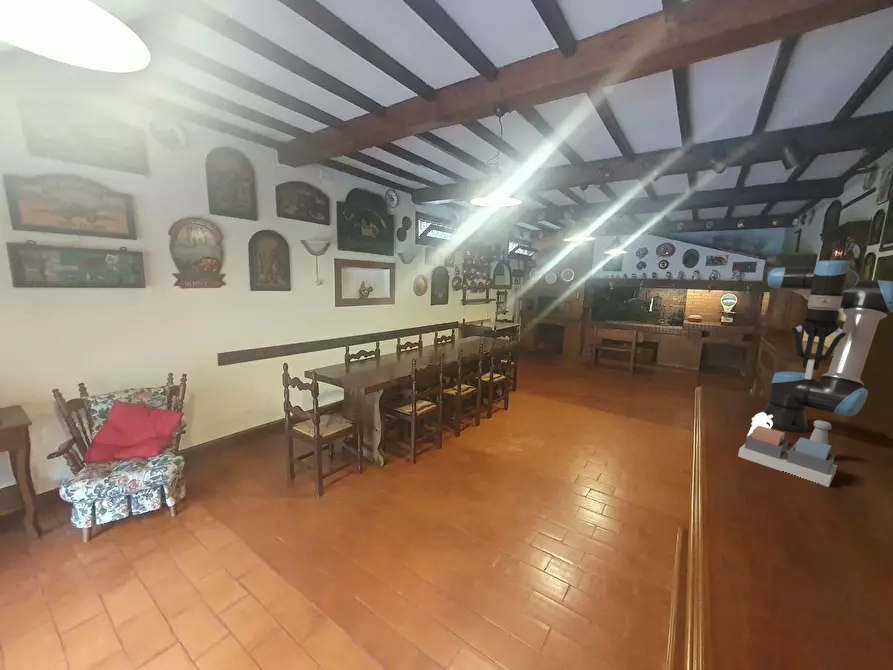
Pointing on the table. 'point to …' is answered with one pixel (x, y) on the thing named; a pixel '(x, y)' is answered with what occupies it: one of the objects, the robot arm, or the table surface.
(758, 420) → the figurine
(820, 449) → the slate blue key
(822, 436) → the salt shaker
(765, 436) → the terracotta key
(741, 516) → the table surface
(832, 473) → the key housing
